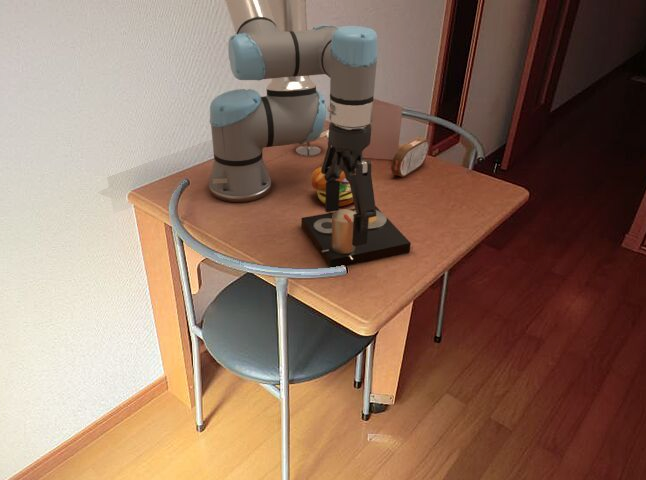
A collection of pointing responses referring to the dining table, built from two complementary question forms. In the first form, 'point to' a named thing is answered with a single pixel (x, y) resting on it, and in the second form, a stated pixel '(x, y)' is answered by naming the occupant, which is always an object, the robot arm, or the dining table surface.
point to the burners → (374, 222)
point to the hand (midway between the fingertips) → (345, 226)
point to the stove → (377, 247)
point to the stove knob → (342, 231)
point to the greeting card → (384, 131)
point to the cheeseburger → (320, 185)
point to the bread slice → (410, 156)
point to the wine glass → (308, 150)
